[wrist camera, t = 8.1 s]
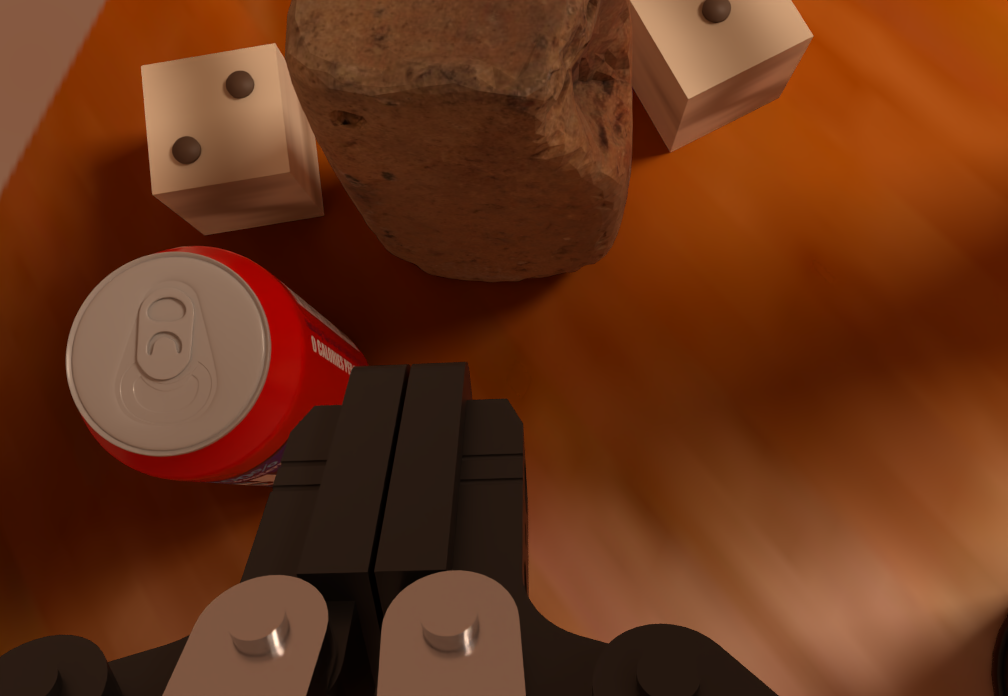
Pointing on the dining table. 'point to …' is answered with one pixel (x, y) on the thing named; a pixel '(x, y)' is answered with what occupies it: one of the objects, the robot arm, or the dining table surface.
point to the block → (473, 126)
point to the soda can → (202, 365)
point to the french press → (1001, 662)
